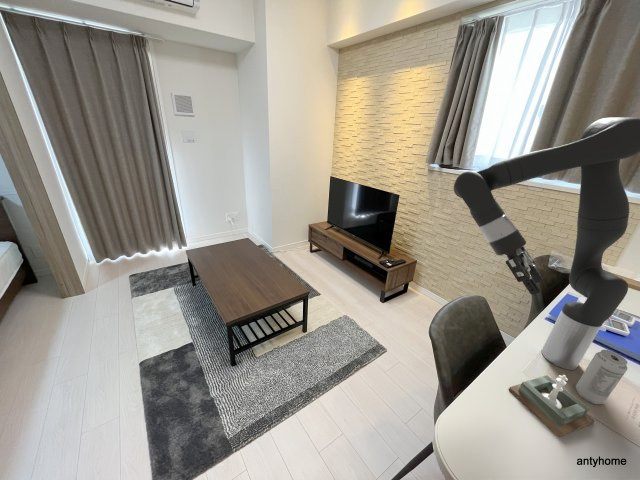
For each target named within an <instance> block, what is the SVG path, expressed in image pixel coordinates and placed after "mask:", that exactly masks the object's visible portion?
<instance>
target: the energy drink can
mask: <svg viewBox="0 0 640 480" xmlns="http://www.w3.org/2000/svg"><path fill="white" fill-rule="evenodd" d="M627 365H628V360H627V359H626V358H625V357H623V356H622V355H620V354H619V353H617V352H615V351H612V350H609V349H602V350H601V351H599V352H598V351H597V352H596V353H595V354H594V355H593V357H592V358H591V360H590V362H589V363H588V366H587V367H586V368H585V370H584V371H583V373H582V375H581V377H580V379H579V380H578V382H577V383H576V384H575V389H576V392H577V394H578V396H580V397H581V398H582V397H583V398H584V399H583V398H582V399H583V400H585V399H586V400H585V401H587V400H588V401H590V402H592V403H591V404H593V403H596V404H595V405H603V404H605V402H606V401H607V399H608V398H609V397H610V395H611V394H612V393H613V391H614V389H615V388H616V386H617V385H618V384H619V382H620V380H621V379H622V378H623V377H624V375H625V374H626V372H627V371H628V366H627ZM588 401H587V402H588ZM590 402H589V403H590Z"/></svg>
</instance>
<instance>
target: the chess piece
mask: <svg viewBox="0 0 640 480" xmlns="http://www.w3.org/2000/svg"><path fill="white" fill-rule="evenodd" d="M566 381H568V378H567V376H566V374H562V375H561V374H559V375H558V377H556V378H555V382H556V384H553V385H552V386H553V388H554V389H553V390H552V391H551V392H550V394H548V393H541V394H542V395H543V396H544V397H546V398H547V399H548V400H549V401H550V402H551V403H553V404H554V405H555V406H556V407H557V408H558V409H560V410H561V408H562V406H561V403H560V402H559V401H558V400H557V399H556V398H557V395H558V392H559V391H561V392H562V391H563V389H562V387H563V388H564V386H566V385H567V382H566Z"/></svg>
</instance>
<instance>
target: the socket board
mask: <svg viewBox="0 0 640 480" xmlns="http://www.w3.org/2000/svg"><path fill="white" fill-rule="evenodd" d="M553 384H556V380H554V379H553V378H552V377H550V376H549V375H548V374H547V375H544V376H540V377H537V378H533V379H530V380H526V381H523V382H521V383H518V384H515V385H512V386H510V387H509V388H508V390H509V391H510V392H511V393H512V394H513V396H515V397H516V398H517V399H518V400H519V401H520V402H521V403H522V404H523V405H524V406H526V408H527V409H529V410H530V411H531V413H533V414H534V415H535V416H536V417H537V418H538V419H539V420H540V421H542V423H544V424H545V425H546V426H547V427H548V428H549V429H550V430H551V431H552V432H553V433H554V434H555V435H556V436H558V438H559V437H563V436H565V435H567V434H570V433H572V432H574V431H576V430H579V429H583V428H584V427H586V426H589V425H592V424H594V423H595V419H594V418H593V417H591V416H590V415H589V414H588V413H589V411H590V409H591V408H590V407H589V406H587V404H585V403H584V402H582V400H580V399H578V398H577V397H576V396H574V394H572V393H570V392H569V390H567V389H566V388H564V386H563V387H562V389H563V391H562V392H561V391H559V392H558V395H557V398H556V399H557V400H558V401H559V402H560V403H561V406H562V408H561V410H560V409H558V408H557V407H556V406H555V405H554V404H553V403H551V402H550V401H549V400H548V399H547V398H546V397H544V396H543V395H542V394H541V393H548V394H550V392H551V391H552V390H553V389H554V388H553V386H552V385H553Z"/></svg>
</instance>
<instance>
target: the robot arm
mask: <svg viewBox="0 0 640 480" xmlns="http://www.w3.org/2000/svg"><path fill="white" fill-rule="evenodd" d="M639 153H640V118H638V117H628V116H627V117H626V116H624V117H623V116H622V117H619V116H617V117H614V116H613V117H610V116H609V117H603V118H600V119H597V120H596V121H594V122H592V123H591V124H590V125H588V126H587V128H585V129H584V131H583V133H582V135H581V137H580V140H577V141H573V142H570V143H567V144H563V145H560V146H556V147H550V148H545V149H541V150H540V149H539V150H534V151H531V152H526V153H523V154H519V155H517V156H513V157H510V158H508V159H504V160H502V161H499V162H497V163H494V164H492V165H491V166H489V167H488V168H485V169H482V170H478V171H472V170H469V171H465V172H463V173H462V172H461V174H459V175H458V176H457V177H456V179H455V182H454V183H453V192H454V194H455V195H456V196H457V197H458V198H459V199H460V198H461V199H462V200H463V202H464V203H465V205H466V206H467V208H468V209H469V212H470V215H471V217H472V218H473V220H474V222H475V223H476V224H477V226H478V227H479V229H480V231H481V233H482V235H483V237H484V238H485V240H486V241H487V243H488V245H489V246H490V247H491V249H492V250H493V252H494V253H495V255H497V256H503V255H506V258H507V260H505V264H506V265H507V267H508V268H509V270H510V271H511V273H512V275H513V277H514V278H515V279H516V281H517V282H518V283H522V284H523V286H524V287H525V289H527V291H528V293H529V294H530V295H536V294H539V293H541V288H540V287H539V286H538V284H537V283H541V282H543V281H544V278H543V277H542V275H541V274H540V272H539V271H538V270H537V268H536V261H534V259H533V257H532V256H531V255H530V253H529V252H528V251H527V249H526V248H525V246H526V245H527V240H526V239H525V237H524V236H523V235H522V233H521V232H520V231H519V229H518V228H517V226H516V225H515V224H514V222H513V221H512V220H511V218H510V217H509V216H508V215H507V214H506V212H505V211H504V210H503V208H502V206H501V205H500V204H499V203H498V202H497V201H496V198H495V197H494V194H493V193H492V192H493V191H495V190H498V189H502V188H506V187H510V186H513V185H517V184H520V183H524V182H527V181H530V180H533V179H536V178H539V177H543V176H546V175H551V174H554V173H558V172H562V171H566V170H571V169H576V168H580V178H581V179H580V187H579V200H578V201H579V203H578V212H577V221H576V222H577V224H576V227H577V228H576V230H577V231H576V239H575V240H576V241H575V248H574V249H575V250H574V256H573V260H572V263H571V264H572V265H571V268H570V272H569V277H568V280H569V286H570V287H571V289H573V290H574V291H575V292H577V293H578V294H580V295H581V296H583V297H584V298H586V300H585V301H584V302H580V301H567V302H565V303H564V305H563V306H562V309H561V311H560V312H559V314H558V317H557V319H556V320H555V323H554V324H553V326H552V329H551V331H550V332H549V335H548V336H547V338H546V340H545V342H544V345H543V346H542V349H541V351H540V352H541V354H542V355H543V357H544V358H545V359H546V360H547V361H549V362H550V363H551V364H553V365H555V366H557V367H558V368H559V367H560V368H562V369H565V370H568V371H569V370H570V371H575V370H576V369H577V368H578V367H579V365H580V363H581V362H582V360H583V358H584V356H585V355H586V354H587V351H588V350H589V348H590V347H591V345H592V343H593V341H594V340H595V338H596V336H597V335H598V333H599V331H600V329H601V328H602V326H603V324H604V323H605V322H606V321H608V320H609V319H610V318H611V317H612V316H613V314H614V313H615V311H616V310H617V309H618V307H620V304H621V303H622V301H624V299H625V298H626V295H627V293H628V292H629V291H628V290H629V284H628V282H627V280H625V279H624V278H622V277H620V276H618V275H615V274H614V273H611V272H610V271H607V270H605V269H603V266H602V261H603V255H604V253H605V251H606V250H607V249H608V248H610V247H611V246H612V245H614V244H615V243H616V242H618V241H619V239H621V238H622V237H623V236H624V234H625V232H627V231H626V230H627V228H628V222H629V215H630V202H629V198H628V194H627V193H626V190H625V188H624V185H623V183H622V180H621V176H620V163H621V160H623V159H628V158H630V157H633V156H635V155H637V154H639ZM522 274H523V275H522Z"/></svg>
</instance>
